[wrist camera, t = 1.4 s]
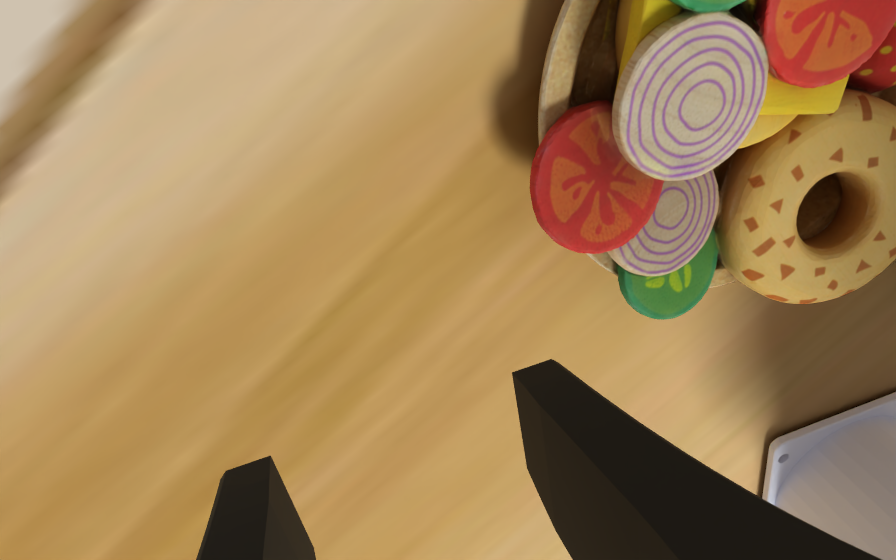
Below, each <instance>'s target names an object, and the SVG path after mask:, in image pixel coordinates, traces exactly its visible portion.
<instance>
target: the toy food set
mask: <svg viewBox="0 0 896 560" xmlns="http://www.w3.org/2000/svg"><path fill="white" fill-rule="evenodd" d="M538 138H539V147H538V149H537V151H536V154H535V157H534V159H533V162H532V168H531V175H530V194H531V200H532V205H533V210H534V212H535V215H536V218H537V222H538V223H539V224H540V226H541V227H542V229H543V230H544V231H545V232H546V233H547V234H548V235H549V236H550V237H551V238H552V239H553V240H554V241H555V242H556V243H558V244H559V245H561V246H563V247H565V248H567V249H569V250H572V251H575V252H578V253H586V254H587V255H588V256H589V257H590V258H591V259H593V260H594V261H595V262H596V263H598V264H599V265H600V266H602V267H603V268H605V269H606V270H608V271H609V272H611V273H613V274H615V275H617V276H618V281H619V286H620V290H621V292H622V294H623V296H624V298H625V299H626V301H627V303H628V304H629V305H630V306H631V307H632V308H633V309H635V310H636V311H637V312H639V313H640V314H643V315H645V316H647V317H650V318H654V319H671V318H675V317H678V316H680V315H682V314H684V313H685V312H687V311H688V310H690V309H691V308H693V307H694V306H695V305H696V304H697V303H698V302H699V301H700V300H701V299H702V297H703V296H704V294H705V293H706V291H707V290H708V288H712V287H717V286H721V285H725V284H728V283H732V282H735V281H738V280H739V281H740V282H741V283H742V284H744V285H745V286H747V287H749V288H750V289H752V290H754V291H756V292H757V293H759V294H761V295H763V296H765V297H767V298H770V299H773V300H776V301H779V302H784V303H791V304H810V303H818V302H823V301H827V300H831V299H835V298H838V297H841V296H843V295H846V294H848V293H850V292H853V291H855V290H857V289H858V288H860V287H862V286H863V285H865V284H867V283H868V282H869V281H871V280H872V279H873V278H875V277H876V276H878V275H879V274H880V273H882V272H883V271H884V270H885V269H886V268H887V267H888V266H889V265H890V264H891V263H892V262H893V261H894V260H895V258H896V0H565V1H564V3H563V5H562V8H561V10H560V13H559V16H558V18H557V21H556V24H555V27H554V30H553V33H552V36H551V39H550V43H549V46H548V50H547V54H546V58H545V63H544V67H543V74H542V80H541V86H540V95H539V107H538Z"/></svg>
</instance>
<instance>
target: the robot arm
mask: <svg viewBox="0 0 896 560" xmlns="http://www.w3.org/2000/svg"><path fill="white" fill-rule="evenodd" d="M512 375H513V381H514V388H515V394H516V401H517V407H518V413H519V420H520V426H521V432H522V439H523V445H524V451H525V458H526V464H527V469H528V471H529V474H530V476H531V478H532V480H533V482H534V485H535V487H536V489H537V491H538V493H539V496H540V498H541V500H542V502H543V504H544V507H545V509H546V511H547V513H548V515H549V517H550V519H551V521H552V524H553V526H554V528H555V530H556V532H557V534H558V535H559V537H560V539H561V540H562V542H563V544H564V546H565V547H566V549H567V551H568V552H569V554H570V556H571V557H572V559H573V560H896V392H894V393H892V394H889V395H887V396H884V397H881V398H879V399H876V400H874V401H871V402H868V403H866V404H863V405H861V406H858V407H855V408H853V409H850V410H848V411H845V412H842V413H840V414H837V415H835V416H832V417H829V418H827V419H824V420H822V421H819V422H816V423H814V424H811V425H809V426H806V427H804V428H801V429H798V430H796V431H793V432H791V433H788V434H785V435H783V436H780V437H778V438H776V439H775V440H774V441H773V442H772V443H771V444H770V447H769V453H768V460H767V467H766V474H765V481H764V489H763V496H762V498H760V497H759V496H757V495H755V494H753V493H751V492H750V491H748V490H746V489H744V488H743V487H741V486H739V485H738V484H736V483H734V482H733V481H731V480H729V479H728V478H726V477H724V476H723V475H721V474H719V473H717V472H716V471H714V470H712V469H711V468H709V467H707V466H706V465H704V464H703V463H701V462H699V461H698V460H696V459H695V458H693V457H691V456H690V455H688V454H687V453H685V452H684V451H682V450H681V449H679V448H678V447H676V446H675V445H673V444H671V443H670V442H668V441H667V440H665V439H664V438H662V437H661V436H659V435H658V434H656V433H655V432H653V431H652V430H650V429H649V428H647V427H646V426H644V425H643V424H641V423H640V422H638V421H637V420H636V419H634V418H633V417H631V416H630V415H628V414H627V413H626V412H624V411H623V410H621V409H620V408H619V407H617V406H616V405H614V404H613V403H612V402H610V401H609V400H607V399H606V398H605V397H603V396H602V395H601V394H599V393H598V392H596V391H595V390H594V389H592V388H591V387H590V386H588V385H587V384H586V383H584V382H583V381H582V380H580V379H579V378H578V377H576V376H575V375H574V374H573V373H571V372H570V371H569V370H567V369H566V368H565V367H563V366H562V365H561V364H560V363H558V362H556V361H554V360H552V359H550V360H547V361H544V362H542V363H539V364H536V365H533V366H530V367H527V368H524V369H521V370H518V371H515V372H512ZM196 560H316V557H315V552H314V547H313V545H312V543H311V541H310V539H309V537H308V534H307V532H306V530H305V528H304V526H303V524H302V522H301V519H300V517H299V515H298V513H297V511H296V509H295V507H294V505H293V502H292V500H291V498H290V496H289V494H288V492H287V490H286V487H285V485H284V483H283V481H282V479H281V477H280V475H279V472H278V470H277V468H276V466H275V464H274V462H273V460H272V458H271V456H268V457H265V458H262V459H259V460H256V461H253V462H251V463H248V464H245V465H242V466H239V467H236V468H233V469H230V470H227V471H226V472H225V473H224V475H223V476H222V478H221V480H220V483H219V487H218V490H217V494H216V498H215V501H214V504H213V508H212V511H211V515H210V518H209V521H208V525H207V528H206V531H205V534H204V537H203V540H202V544H201V547H200V550H199V553H198V556H197V559H196Z"/></svg>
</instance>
